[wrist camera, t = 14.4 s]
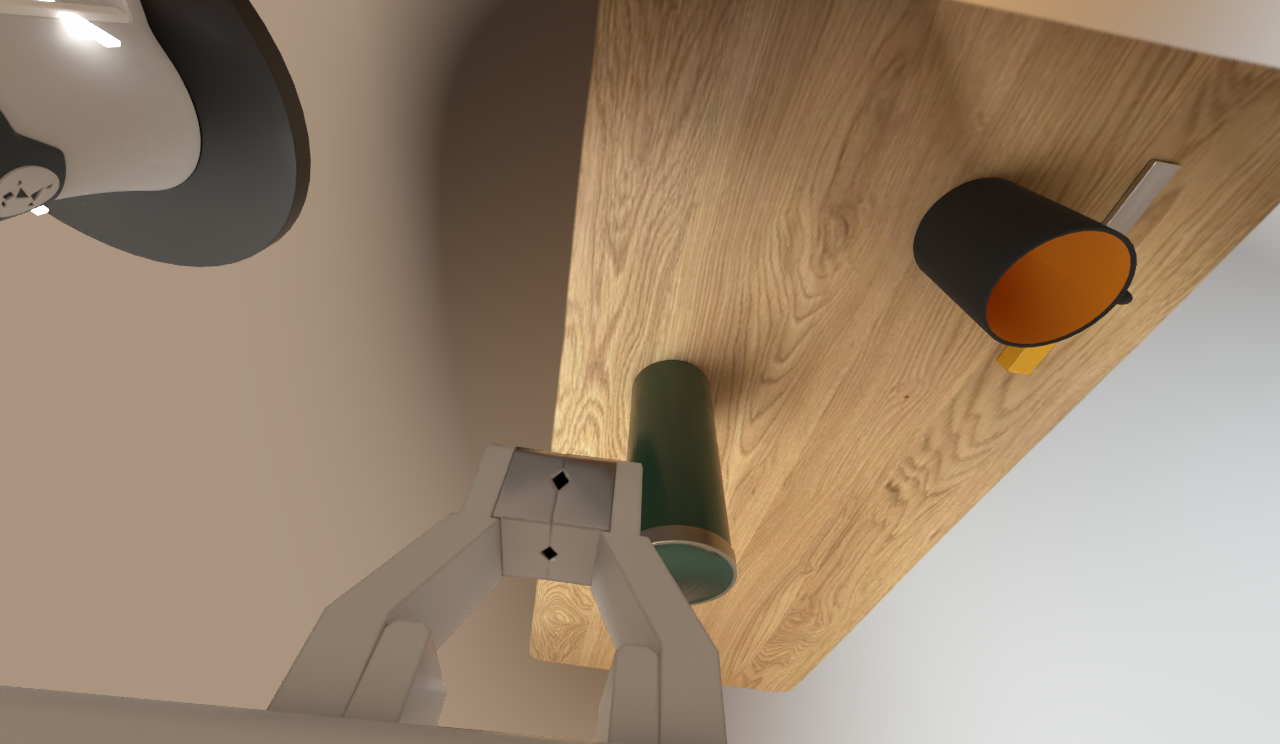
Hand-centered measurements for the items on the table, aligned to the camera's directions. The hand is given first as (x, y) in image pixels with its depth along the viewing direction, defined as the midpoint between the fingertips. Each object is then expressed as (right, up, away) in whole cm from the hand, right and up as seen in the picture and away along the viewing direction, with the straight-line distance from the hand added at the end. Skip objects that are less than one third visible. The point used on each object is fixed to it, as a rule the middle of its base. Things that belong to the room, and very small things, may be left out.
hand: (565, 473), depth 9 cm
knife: (+38, +10, +30) cm, 49 cm away
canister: (+5, 0, +39) cm, 39 cm away
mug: (+29, +13, +28) cm, 43 cm away
